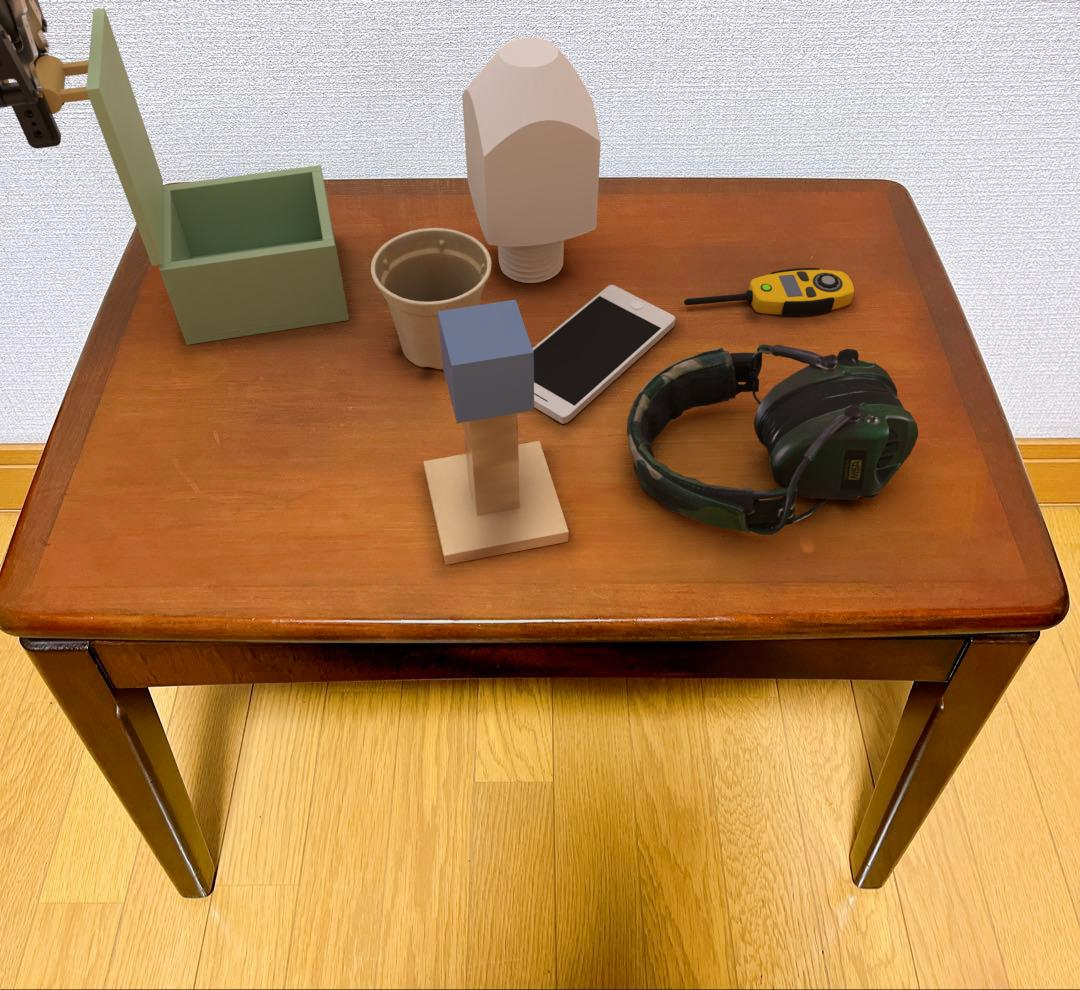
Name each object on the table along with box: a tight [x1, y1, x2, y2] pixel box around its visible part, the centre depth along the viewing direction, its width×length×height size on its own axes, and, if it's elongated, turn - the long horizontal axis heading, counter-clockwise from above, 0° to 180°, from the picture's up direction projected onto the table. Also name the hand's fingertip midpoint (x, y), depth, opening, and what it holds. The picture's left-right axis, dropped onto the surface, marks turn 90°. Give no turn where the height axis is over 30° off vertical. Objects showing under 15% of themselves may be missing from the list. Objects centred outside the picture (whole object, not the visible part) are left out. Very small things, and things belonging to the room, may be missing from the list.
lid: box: [35, 7, 164, 267], centre depth 77 cm, size 15×12×6 cm
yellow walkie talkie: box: [683, 267, 855, 317], centre depth 89 cm, size 5×2×15 cm
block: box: [438, 299, 535, 424], centre depth 64 cm, size 5×5×5 cm
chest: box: [159, 164, 350, 346], centre depth 87 cm, size 14×12×8 cm
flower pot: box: [370, 227, 492, 370], centre depth 82 cm, size 9×9×9 cm
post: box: [423, 413, 570, 566], centre depth 70 cm, size 9×9×12 cm
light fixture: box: [461, 37, 602, 284], centre depth 85 cm, size 9×9×20 cm
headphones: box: [626, 343, 919, 536], centre depth 74 cm, size 13×13×20 cm
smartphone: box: [532, 284, 676, 424], centre depth 85 cm, size 7×16×1 cm, turn 141°
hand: (49, 123), depth 75 cm, fingers closed on lid, 5 cm apart
